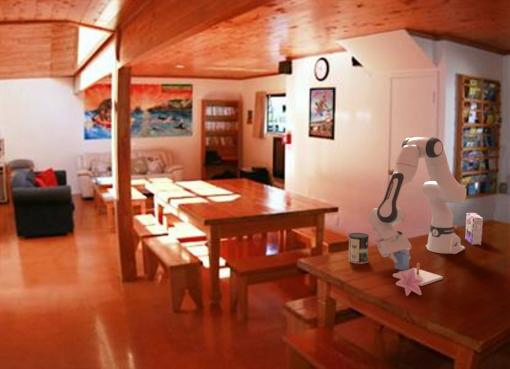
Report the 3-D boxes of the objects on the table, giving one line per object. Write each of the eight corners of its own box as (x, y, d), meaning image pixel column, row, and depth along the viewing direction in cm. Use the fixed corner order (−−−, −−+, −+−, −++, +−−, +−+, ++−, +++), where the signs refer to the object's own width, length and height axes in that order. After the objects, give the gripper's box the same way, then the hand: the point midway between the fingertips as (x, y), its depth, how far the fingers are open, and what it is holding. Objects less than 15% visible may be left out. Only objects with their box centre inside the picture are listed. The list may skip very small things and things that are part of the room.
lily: (390, 296, 212) (398, 281, 207) (391, 277, 222) (399, 263, 216) (417, 305, 211) (426, 291, 205) (417, 287, 220) (426, 272, 215)
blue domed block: (401, 266, 248) (401, 249, 247) (408, 268, 245) (409, 251, 243) (394, 268, 246) (395, 251, 244) (402, 270, 242) (403, 253, 240)
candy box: (464, 238, 301) (466, 212, 298) (474, 239, 300) (476, 212, 297) (471, 244, 287) (472, 217, 284) (481, 245, 286) (483, 217, 284)
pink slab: (413, 270, 243) (414, 256, 242) (442, 278, 230) (443, 264, 229) (392, 276, 234) (393, 262, 233) (421, 286, 221) (421, 270, 220)
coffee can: (367, 258, 262) (368, 232, 260) (368, 264, 252) (369, 237, 250) (348, 257, 264) (348, 232, 262) (348, 263, 254) (348, 237, 252)
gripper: (378, 237, 242) (393, 261, 236) (404, 231, 254) (419, 253, 248) (370, 243, 247) (385, 267, 240) (397, 237, 258) (412, 259, 252)
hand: (403, 260), depth 244 cm, fingers open, 8 cm apart
